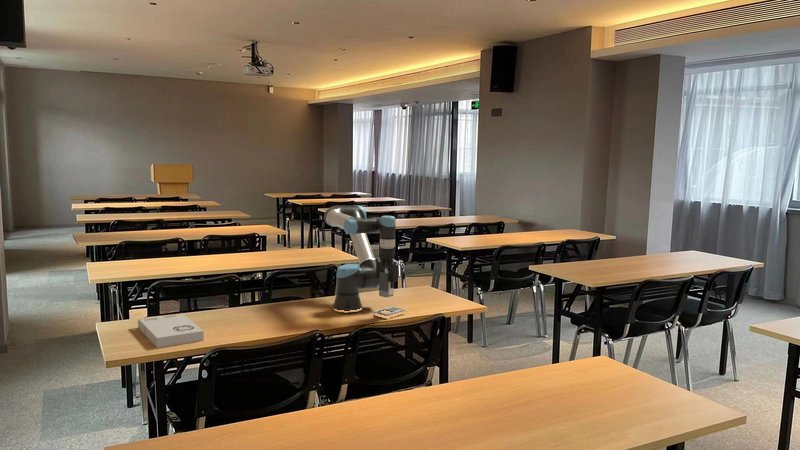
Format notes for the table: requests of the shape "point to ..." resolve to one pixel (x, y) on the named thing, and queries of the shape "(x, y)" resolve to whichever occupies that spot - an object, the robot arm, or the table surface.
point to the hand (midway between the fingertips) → (386, 293)
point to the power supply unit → (170, 330)
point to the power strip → (391, 309)
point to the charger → (384, 284)
